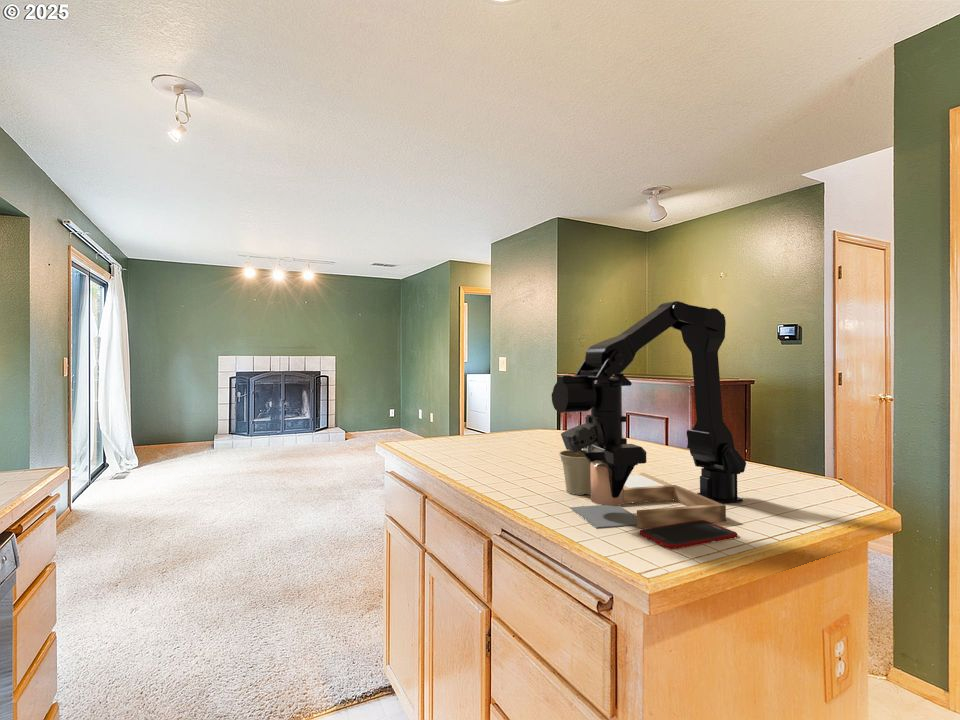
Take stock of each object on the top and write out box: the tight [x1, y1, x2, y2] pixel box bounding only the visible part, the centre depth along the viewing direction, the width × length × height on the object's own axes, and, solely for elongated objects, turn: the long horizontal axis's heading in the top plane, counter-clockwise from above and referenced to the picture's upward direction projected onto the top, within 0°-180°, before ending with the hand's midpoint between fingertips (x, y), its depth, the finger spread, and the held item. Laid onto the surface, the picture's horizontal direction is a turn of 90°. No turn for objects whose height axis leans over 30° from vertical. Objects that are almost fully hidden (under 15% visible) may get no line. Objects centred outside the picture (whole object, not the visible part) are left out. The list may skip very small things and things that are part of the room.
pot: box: [590, 460, 624, 506], centre depth 92 cm, size 6×6×7 cm
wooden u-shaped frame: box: [624, 484, 727, 529], centre depth 95 cm, size 17×15×3 cm
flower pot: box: [558, 449, 591, 496], centre depth 110 cm, size 9×9×9 cm
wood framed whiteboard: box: [623, 472, 673, 488], centre depth 114 cm, size 17×12×1 cm
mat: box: [569, 504, 637, 529], centre depth 92 cm, size 10×12×1 cm
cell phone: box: [638, 520, 738, 550], centre depth 82 cm, size 8×15×1 cm, turn 111°
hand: (607, 492), depth 92 cm, fingers closed on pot, 6 cm apart
